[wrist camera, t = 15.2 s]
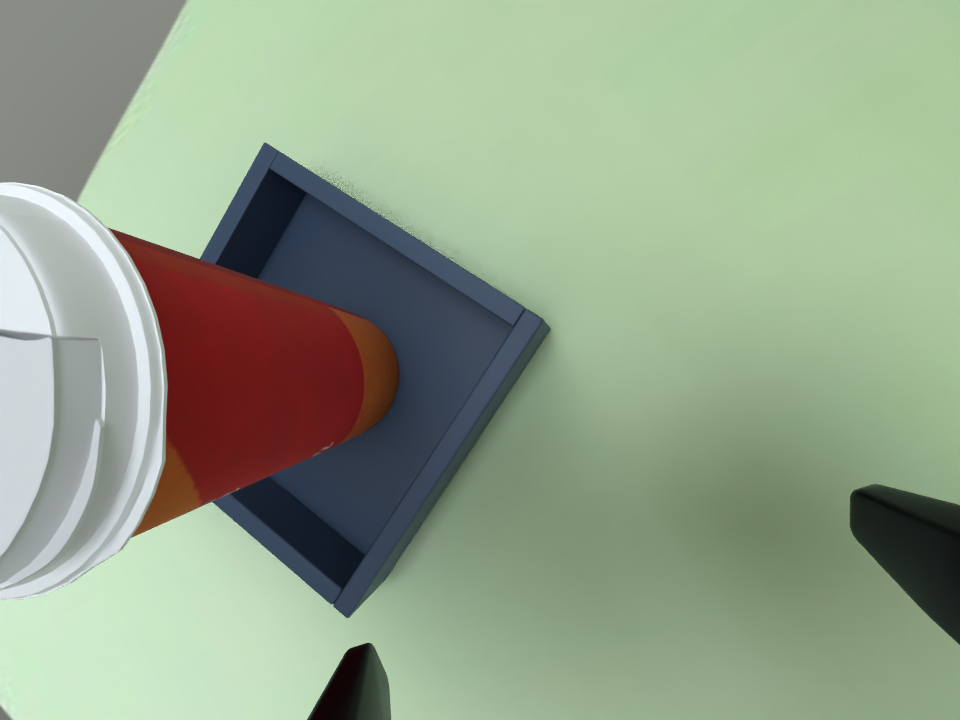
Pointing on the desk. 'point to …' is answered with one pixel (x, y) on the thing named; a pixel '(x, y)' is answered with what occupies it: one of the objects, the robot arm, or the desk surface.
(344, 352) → the paper cup
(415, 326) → the open square box
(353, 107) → the desk surface
